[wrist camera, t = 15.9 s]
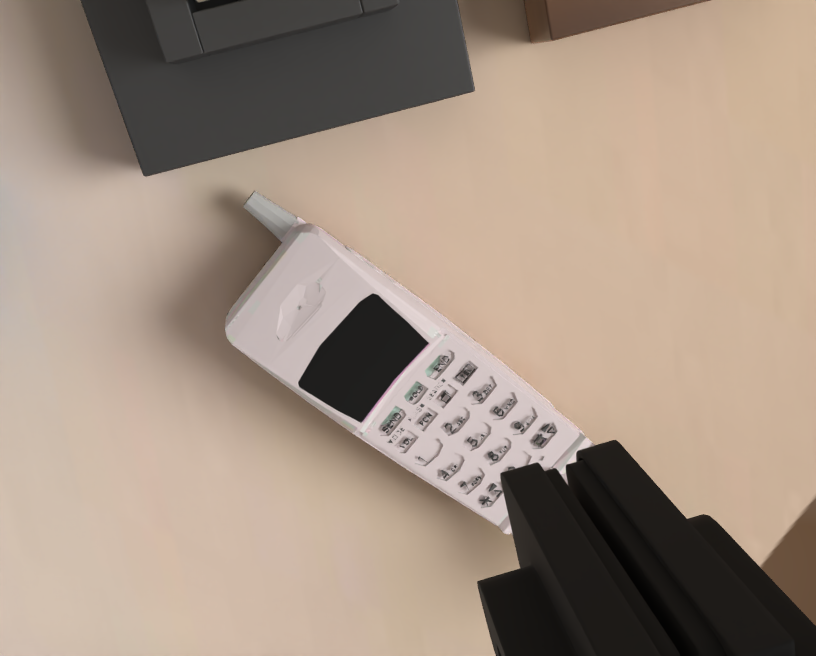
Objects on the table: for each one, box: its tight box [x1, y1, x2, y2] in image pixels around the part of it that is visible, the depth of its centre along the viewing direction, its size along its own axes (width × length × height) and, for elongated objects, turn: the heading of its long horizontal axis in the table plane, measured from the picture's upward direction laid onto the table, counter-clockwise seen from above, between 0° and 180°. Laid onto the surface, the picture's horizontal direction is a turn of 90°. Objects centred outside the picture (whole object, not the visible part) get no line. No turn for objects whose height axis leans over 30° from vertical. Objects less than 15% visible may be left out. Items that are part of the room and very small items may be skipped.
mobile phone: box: [225, 191, 595, 535], centre depth 30 cm, size 6×6×25 cm
